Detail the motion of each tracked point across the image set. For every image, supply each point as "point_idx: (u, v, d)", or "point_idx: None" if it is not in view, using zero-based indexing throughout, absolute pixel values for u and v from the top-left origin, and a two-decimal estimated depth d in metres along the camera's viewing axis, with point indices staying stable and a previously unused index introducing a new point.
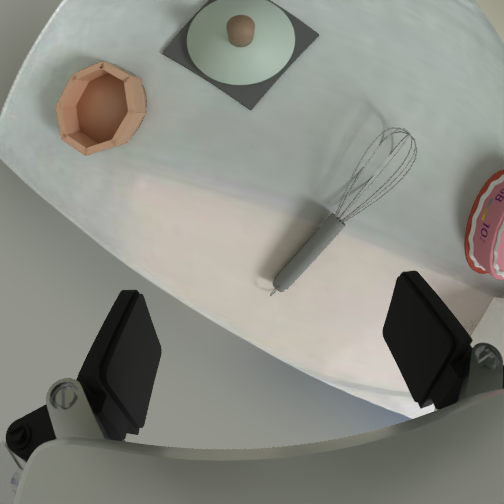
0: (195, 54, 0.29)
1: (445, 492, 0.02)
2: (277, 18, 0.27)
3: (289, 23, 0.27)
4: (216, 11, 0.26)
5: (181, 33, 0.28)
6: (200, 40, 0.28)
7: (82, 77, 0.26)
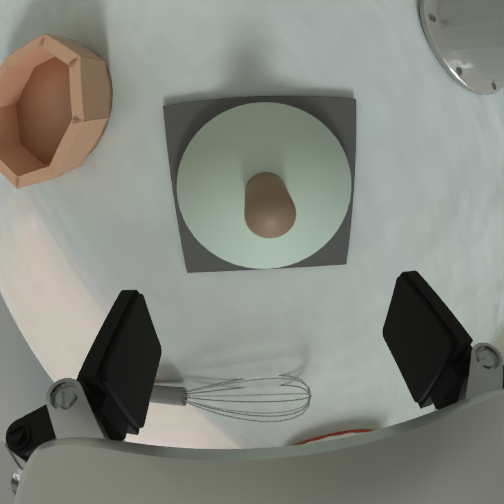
0: (192, 157, 0.20)
1: (445, 492, 0.02)
2: (331, 211, 0.22)
3: (334, 229, 0.23)
4: (282, 126, 0.19)
5: (211, 104, 0.19)
6: (217, 144, 0.20)
7: None
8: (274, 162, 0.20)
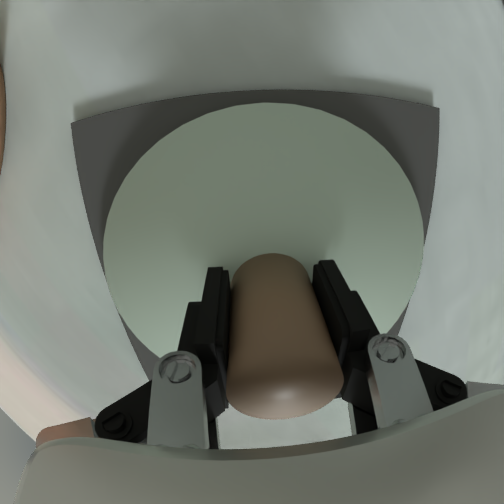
0: (123, 226, 0.10)
1: (445, 492, 0.02)
2: (382, 309, 0.12)
3: (382, 333, 0.13)
4: (309, 158, 0.09)
5: (156, 111, 0.09)
6: (170, 199, 0.09)
7: None
8: (290, 234, 0.10)
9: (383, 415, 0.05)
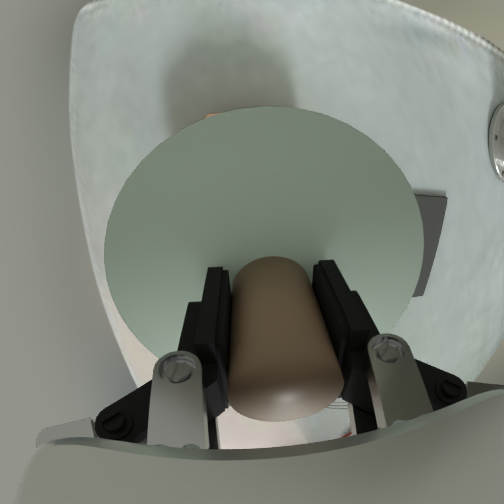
0: (124, 229, 0.10)
1: (445, 492, 0.02)
2: (382, 311, 0.12)
3: None
4: (309, 161, 0.09)
5: None
6: (171, 202, 0.09)
7: None
8: (290, 237, 0.10)
9: (383, 415, 0.05)
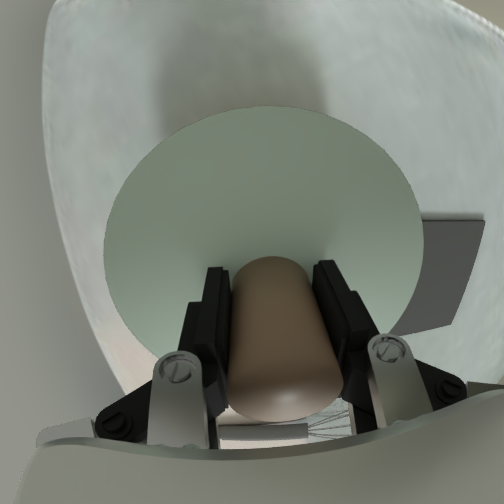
0: (124, 229, 0.10)
1: (445, 492, 0.02)
2: (382, 312, 0.12)
3: None
4: (309, 161, 0.09)
5: None
6: (170, 202, 0.09)
7: None
8: (290, 237, 0.10)
9: (383, 415, 0.05)
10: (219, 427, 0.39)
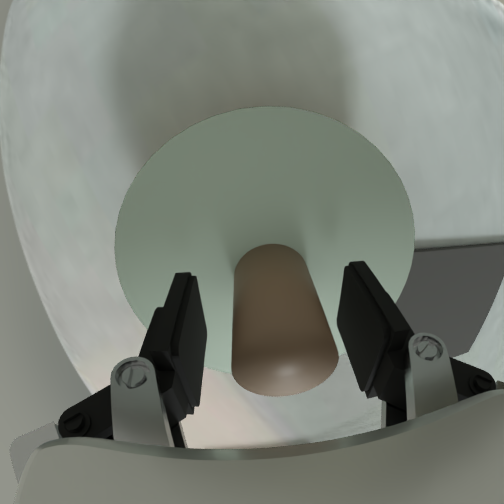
0: (135, 218, 0.11)
1: (445, 492, 0.02)
2: None
3: None
4: (306, 156, 0.10)
5: (441, 254, 0.18)
6: (179, 193, 0.10)
7: None
8: (289, 226, 0.11)
9: (430, 410, 0.04)
10: None
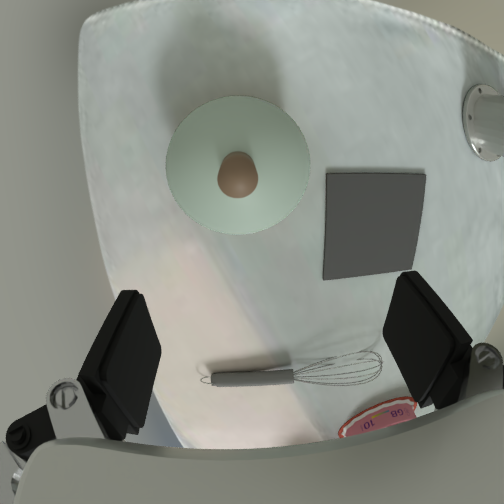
0: (177, 142, 0.24)
1: (445, 492, 0.02)
2: (294, 181, 0.27)
3: (298, 197, 0.28)
4: (248, 114, 0.24)
5: (355, 176, 0.32)
6: (198, 131, 0.24)
7: None
8: (243, 143, 0.25)
9: None
10: (214, 374, 0.47)
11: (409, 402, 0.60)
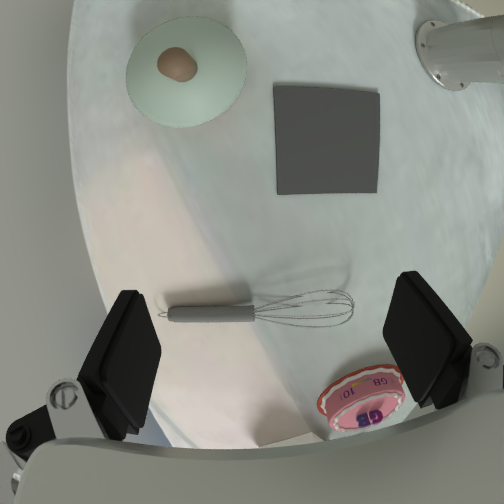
0: (137, 54, 0.24)
1: (445, 492, 0.02)
2: (232, 78, 0.26)
3: (237, 92, 0.27)
4: (194, 28, 0.23)
5: (302, 89, 0.32)
6: (153, 44, 0.24)
7: None
8: (189, 50, 0.24)
9: None
10: (172, 308, 0.47)
11: (395, 372, 0.59)
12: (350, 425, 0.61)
